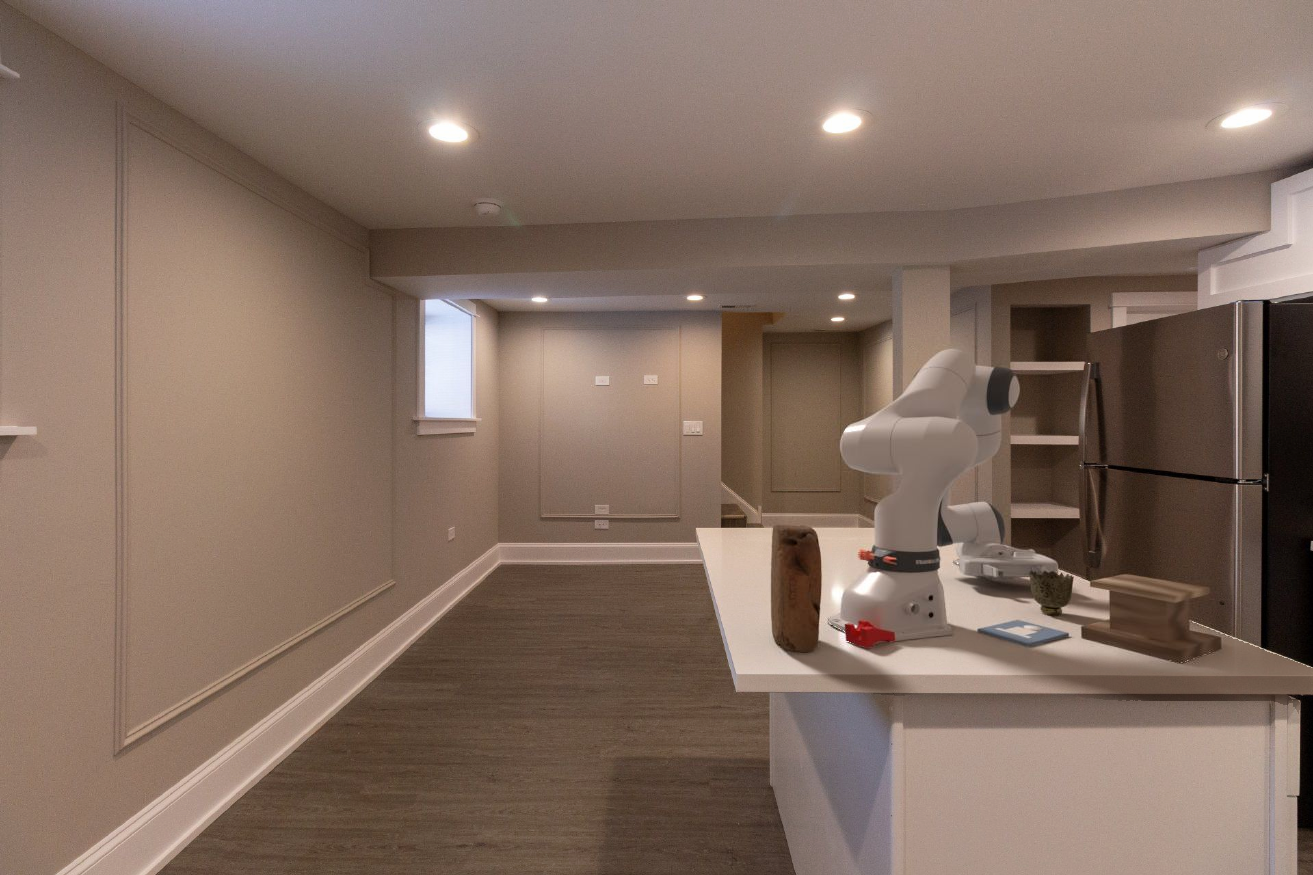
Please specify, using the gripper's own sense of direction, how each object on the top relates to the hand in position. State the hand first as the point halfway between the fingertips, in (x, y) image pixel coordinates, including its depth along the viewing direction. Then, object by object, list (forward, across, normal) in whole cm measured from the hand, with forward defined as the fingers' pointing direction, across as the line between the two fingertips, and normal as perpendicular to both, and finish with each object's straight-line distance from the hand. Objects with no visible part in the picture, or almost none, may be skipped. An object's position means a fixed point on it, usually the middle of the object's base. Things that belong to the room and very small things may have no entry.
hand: (1022, 573), depth 131 cm
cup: (+12, 0, +6) cm, 13 cm away
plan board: (+27, -12, +5) cm, 30 cm away
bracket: (+35, -40, +5) cm, 53 cm away
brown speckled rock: (+37, -52, +5) cm, 64 cm away
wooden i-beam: (+29, +7, +5) cm, 30 cm away
